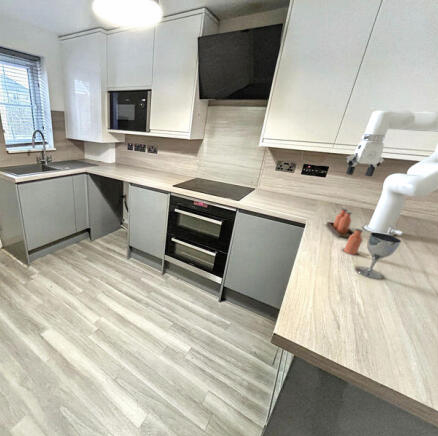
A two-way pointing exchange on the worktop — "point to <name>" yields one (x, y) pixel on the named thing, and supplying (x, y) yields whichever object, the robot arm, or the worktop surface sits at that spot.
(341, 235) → the tray
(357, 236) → the loose bottle
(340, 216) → the tray bottle
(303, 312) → the worktop surface
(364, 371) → the worktop surface
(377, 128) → the robot arm
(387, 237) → the wine glass
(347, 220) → the tray bottle
